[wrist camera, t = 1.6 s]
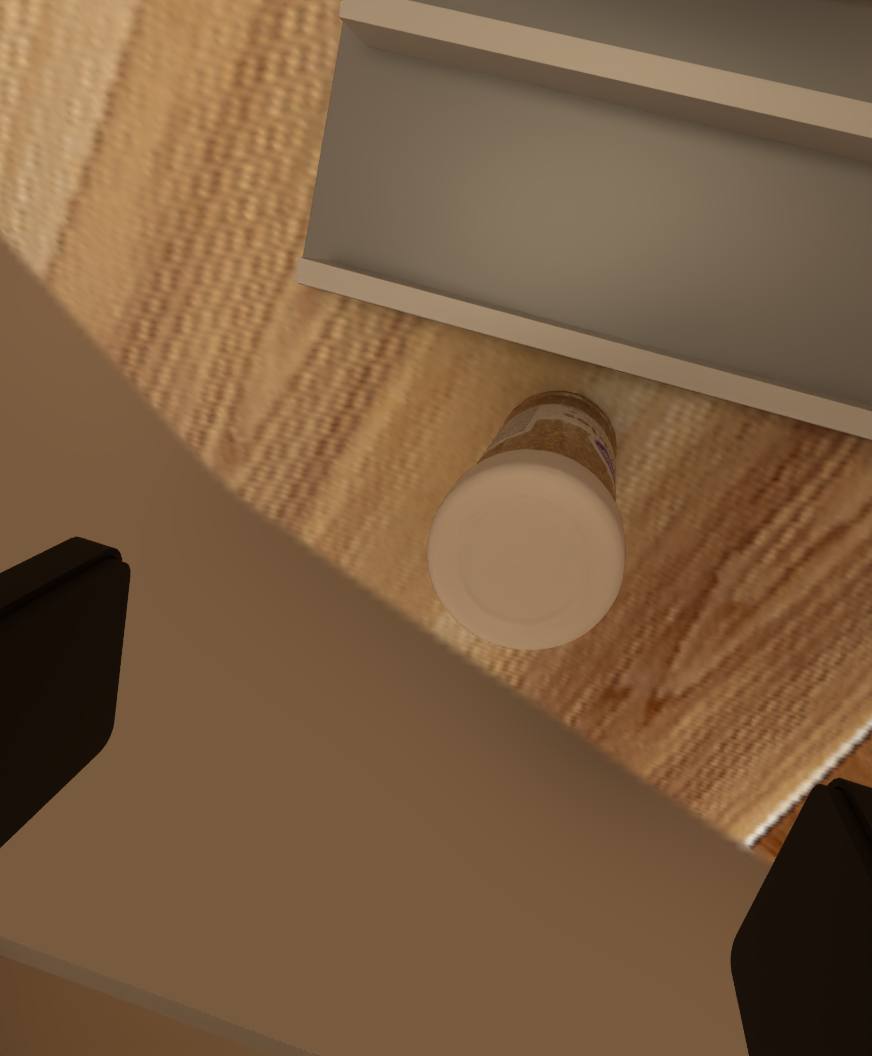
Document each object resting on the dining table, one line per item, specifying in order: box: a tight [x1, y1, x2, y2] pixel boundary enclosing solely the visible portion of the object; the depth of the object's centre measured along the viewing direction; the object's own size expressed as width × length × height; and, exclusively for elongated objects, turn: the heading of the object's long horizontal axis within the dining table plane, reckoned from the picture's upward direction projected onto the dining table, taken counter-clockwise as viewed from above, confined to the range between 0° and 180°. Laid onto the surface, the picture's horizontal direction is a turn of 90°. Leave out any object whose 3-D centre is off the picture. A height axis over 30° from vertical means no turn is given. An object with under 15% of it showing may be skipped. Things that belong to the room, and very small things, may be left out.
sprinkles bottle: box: [427, 391, 625, 650], centre depth 23 cm, size 5×5×13 cm
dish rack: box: [294, 0, 872, 440], centre depth 18 cm, size 22×17×15 cm
